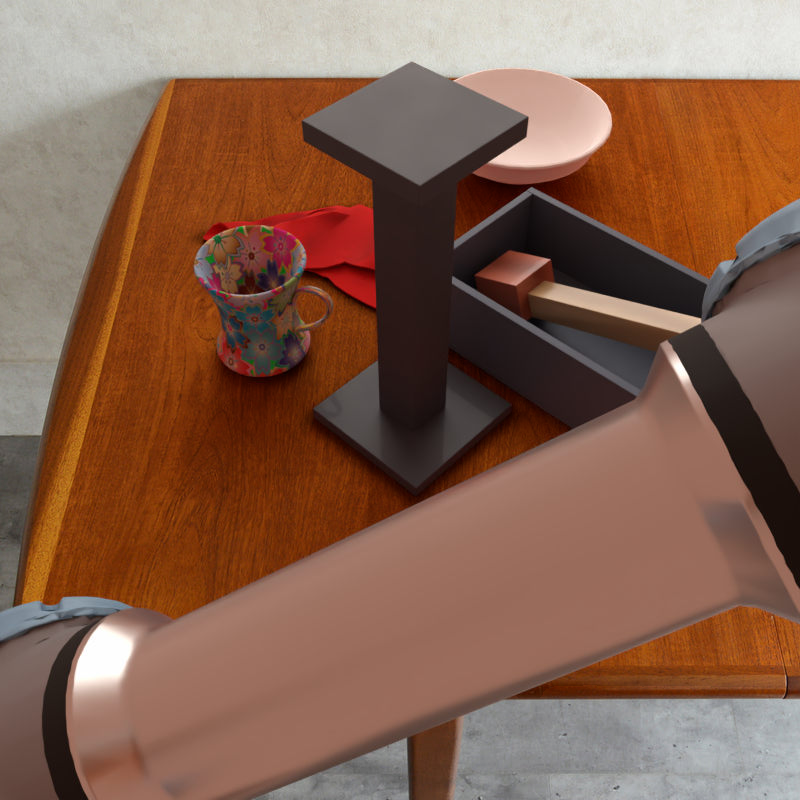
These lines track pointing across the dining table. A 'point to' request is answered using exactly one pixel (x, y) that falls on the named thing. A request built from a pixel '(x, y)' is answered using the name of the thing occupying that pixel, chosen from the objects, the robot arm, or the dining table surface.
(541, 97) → the bowl
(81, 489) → the dining table surface
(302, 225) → the cloth
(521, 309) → the mallet
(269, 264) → the mug
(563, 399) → the bin
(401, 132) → the stand
